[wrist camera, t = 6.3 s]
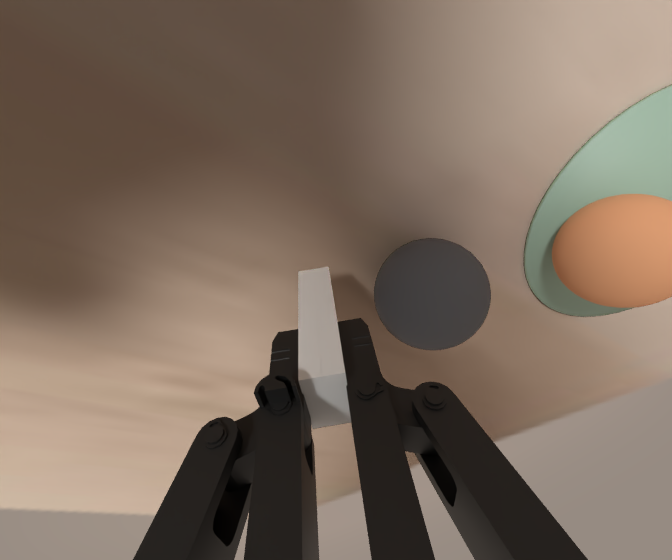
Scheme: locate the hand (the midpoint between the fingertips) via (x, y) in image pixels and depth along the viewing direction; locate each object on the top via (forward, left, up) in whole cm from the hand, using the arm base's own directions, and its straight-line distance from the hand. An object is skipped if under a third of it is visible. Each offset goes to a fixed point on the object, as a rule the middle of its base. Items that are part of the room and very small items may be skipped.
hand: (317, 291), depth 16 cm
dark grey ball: (+5, -1, +1) cm, 6 cm away
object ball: (+15, 0, +1) cm, 15 cm away
